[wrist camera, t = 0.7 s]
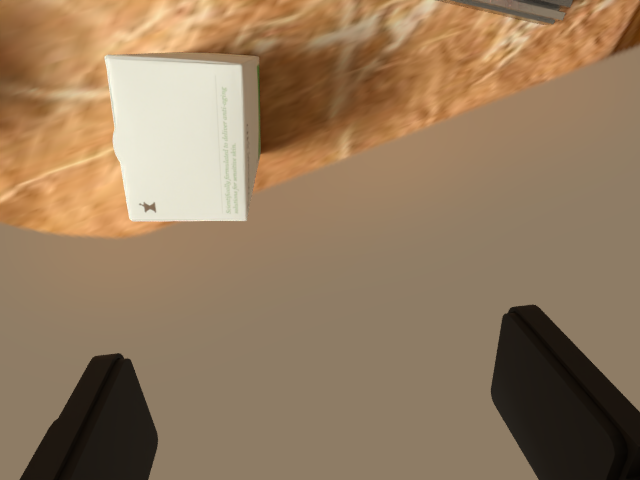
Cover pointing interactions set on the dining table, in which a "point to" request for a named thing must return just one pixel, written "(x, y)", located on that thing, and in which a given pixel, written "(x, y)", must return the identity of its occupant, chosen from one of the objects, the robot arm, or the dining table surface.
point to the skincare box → (186, 133)
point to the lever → (554, 3)
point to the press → (514, 9)
